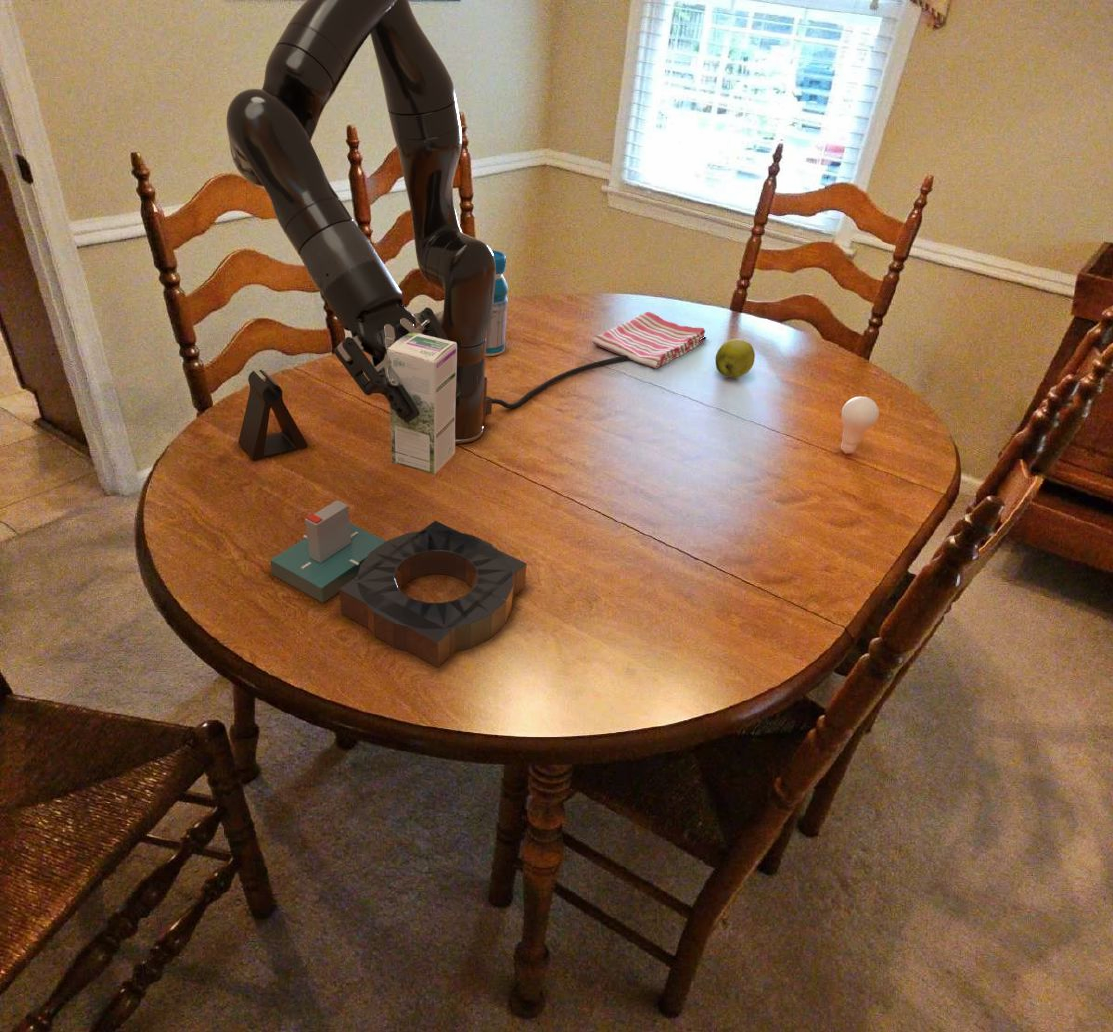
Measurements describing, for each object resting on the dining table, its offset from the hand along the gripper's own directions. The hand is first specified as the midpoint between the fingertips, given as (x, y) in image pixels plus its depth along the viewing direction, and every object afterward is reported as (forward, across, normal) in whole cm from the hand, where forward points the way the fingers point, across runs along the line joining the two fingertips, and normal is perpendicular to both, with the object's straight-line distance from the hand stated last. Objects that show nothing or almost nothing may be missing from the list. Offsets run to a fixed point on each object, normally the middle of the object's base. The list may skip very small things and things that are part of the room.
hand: (434, 407), depth 86 cm
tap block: (+9, -6, +27) cm, 29 cm away
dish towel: (+7, +93, +28) cm, 98 cm away
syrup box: (+4, 0, +6) cm, 8 cm away
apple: (+22, +90, +14) cm, 94 cm away
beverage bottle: (-10, +65, +46) cm, 80 cm away
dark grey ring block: (+20, -3, +16) cm, 26 cm away
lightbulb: (+42, +74, -7) cm, 85 cm away
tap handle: (+7, -6, +25) cm, 27 cm away
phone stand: (-11, +10, +48) cm, 50 cm away
